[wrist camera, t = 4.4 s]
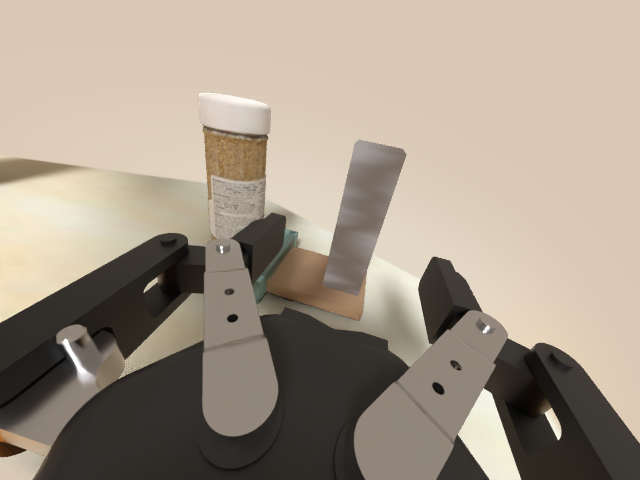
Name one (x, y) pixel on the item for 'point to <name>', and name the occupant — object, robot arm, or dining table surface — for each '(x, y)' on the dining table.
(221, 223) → the sprinkles bottle
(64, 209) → the dining table surface
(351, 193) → the stand
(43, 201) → the dining table surface
